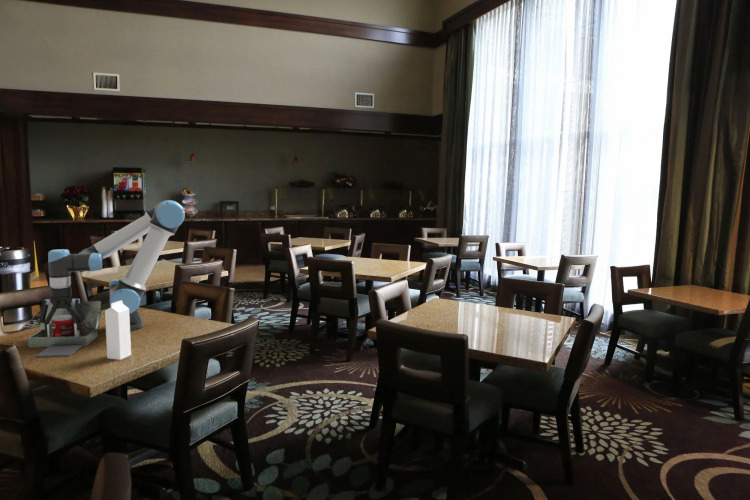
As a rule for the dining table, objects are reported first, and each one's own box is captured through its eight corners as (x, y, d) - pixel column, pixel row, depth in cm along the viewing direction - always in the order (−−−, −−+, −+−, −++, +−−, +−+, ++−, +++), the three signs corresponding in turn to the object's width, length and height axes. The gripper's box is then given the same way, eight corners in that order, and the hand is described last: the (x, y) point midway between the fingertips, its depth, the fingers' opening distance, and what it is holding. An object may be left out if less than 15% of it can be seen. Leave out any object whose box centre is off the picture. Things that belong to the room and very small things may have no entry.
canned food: (59, 339, 216) (57, 314, 215) (78, 339, 217) (77, 314, 216) (49, 345, 209) (47, 319, 207) (69, 344, 210) (67, 319, 208)
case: (104, 333, 226) (102, 300, 224) (89, 345, 209) (87, 310, 207) (46, 335, 222) (44, 301, 220) (26, 347, 205) (24, 311, 203)
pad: (81, 346, 208) (81, 345, 208) (69, 356, 196) (69, 354, 196) (50, 347, 206) (50, 346, 206) (35, 357, 194) (35, 355, 194)
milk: (107, 358, 194) (103, 302, 191) (118, 353, 200) (115, 299, 197) (120, 360, 193) (117, 304, 190) (131, 354, 199) (128, 300, 196)
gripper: (92, 284, 216) (95, 334, 218) (35, 285, 212) (39, 336, 214) (86, 287, 208) (89, 339, 211) (26, 288, 204) (30, 341, 207)
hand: (63, 338), depth 213 cm, fingers open, 10 cm apart
